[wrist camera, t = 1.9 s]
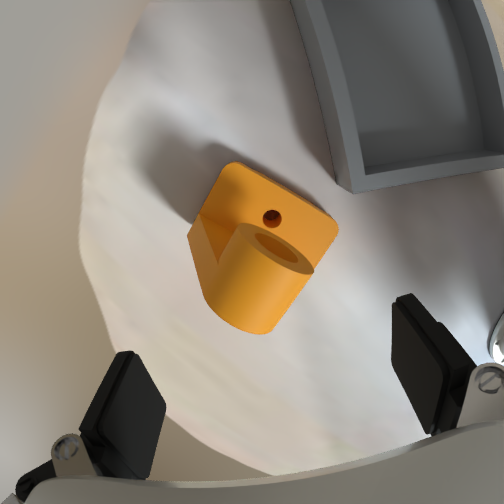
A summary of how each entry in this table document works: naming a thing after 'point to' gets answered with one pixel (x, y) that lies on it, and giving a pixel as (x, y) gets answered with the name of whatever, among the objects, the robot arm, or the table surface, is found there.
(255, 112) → the table surface
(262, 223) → the bracket
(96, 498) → the robot arm
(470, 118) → the tray
